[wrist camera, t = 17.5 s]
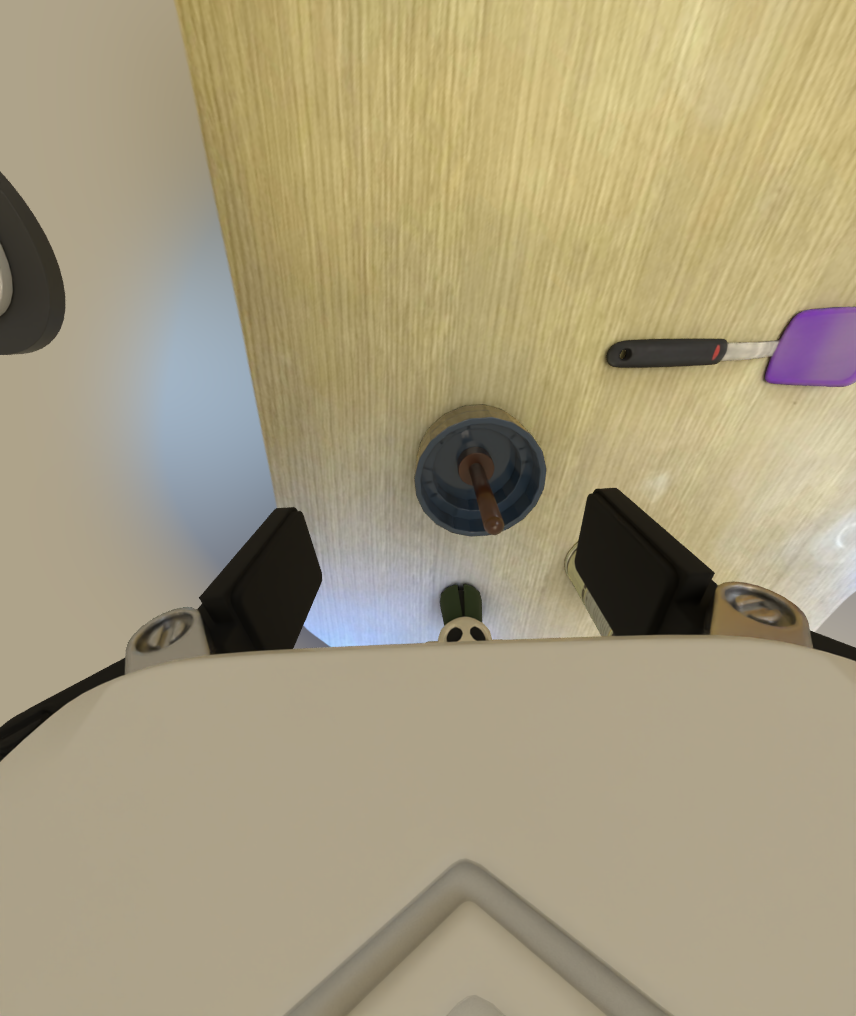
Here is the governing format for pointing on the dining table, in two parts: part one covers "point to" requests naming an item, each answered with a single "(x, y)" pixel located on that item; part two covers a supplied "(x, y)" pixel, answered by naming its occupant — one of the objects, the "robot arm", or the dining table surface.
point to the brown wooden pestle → (481, 485)
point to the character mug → (462, 616)
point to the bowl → (510, 482)
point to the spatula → (764, 350)
